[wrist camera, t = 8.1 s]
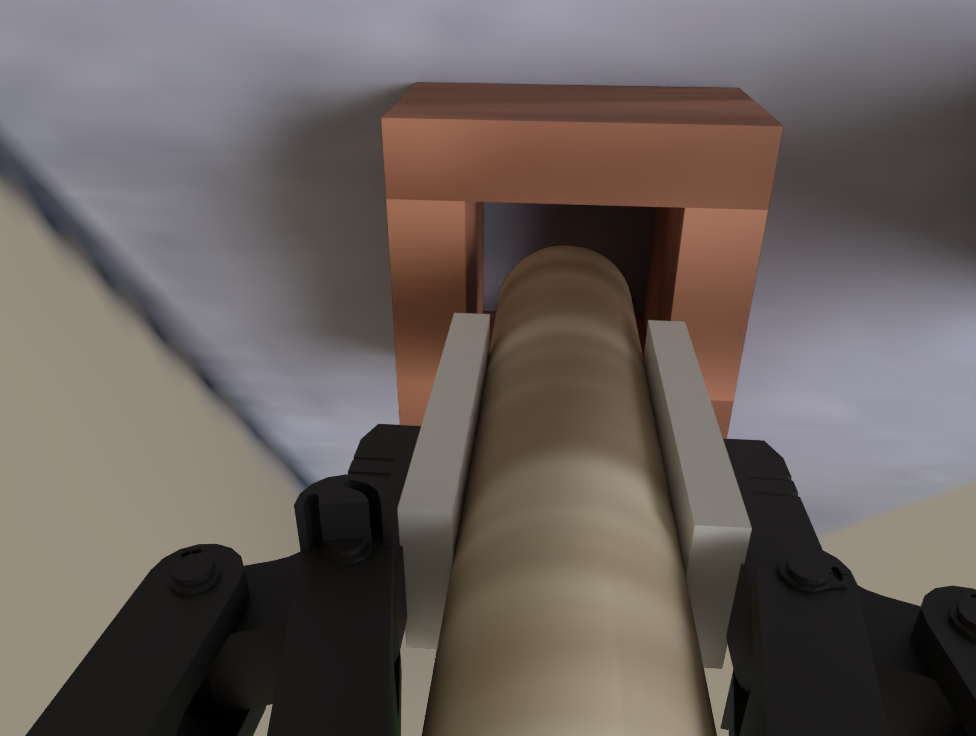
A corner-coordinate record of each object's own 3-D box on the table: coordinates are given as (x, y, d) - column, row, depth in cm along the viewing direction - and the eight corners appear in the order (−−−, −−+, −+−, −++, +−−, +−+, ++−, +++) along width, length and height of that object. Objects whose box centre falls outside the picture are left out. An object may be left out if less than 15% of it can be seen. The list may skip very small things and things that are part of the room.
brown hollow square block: (417, 82, 22) (381, 117, 18) (739, 87, 22) (783, 126, 17) (427, 360, 27) (401, 443, 22) (696, 372, 26) (722, 459, 22)
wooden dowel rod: (496, 241, 19) (210, 1570, 4) (640, 245, 19) (1012, 1693, 3) (495, 365, 21) (296, 1639, 5) (627, 371, 21) (835, 1731, 5)
